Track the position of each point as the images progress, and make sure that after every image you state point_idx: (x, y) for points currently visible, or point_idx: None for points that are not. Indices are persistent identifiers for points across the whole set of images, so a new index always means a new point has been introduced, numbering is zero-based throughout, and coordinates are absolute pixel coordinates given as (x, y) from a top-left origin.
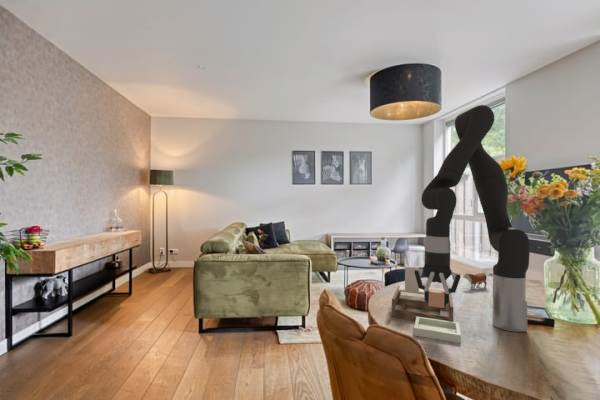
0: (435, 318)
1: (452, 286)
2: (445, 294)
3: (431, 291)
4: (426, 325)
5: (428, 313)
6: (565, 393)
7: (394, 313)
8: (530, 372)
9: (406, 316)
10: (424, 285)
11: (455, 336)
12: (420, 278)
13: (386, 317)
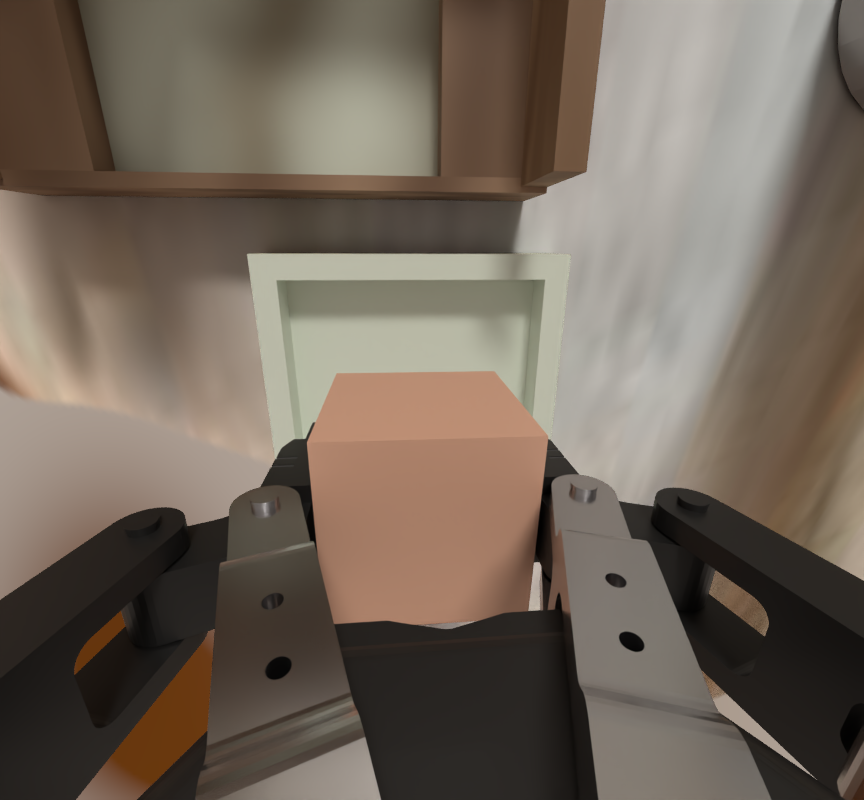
0: (399, 195)
1: (698, 654)
2: (538, 561)
3: (359, 611)
4: (342, 321)
5: (330, 46)
6: None
7: (39, 191)
8: (731, 601)
9: (159, 193)
10: (217, 578)
11: None
12: (45, 750)
13: (6, 219)
